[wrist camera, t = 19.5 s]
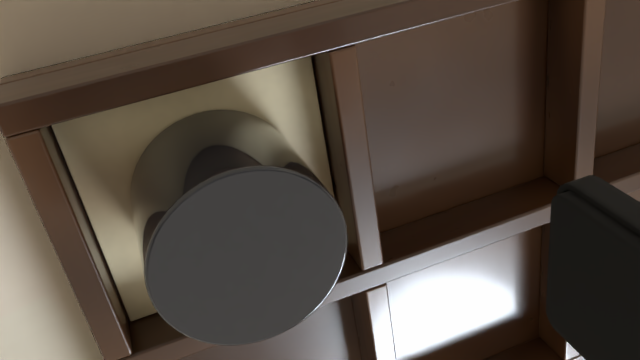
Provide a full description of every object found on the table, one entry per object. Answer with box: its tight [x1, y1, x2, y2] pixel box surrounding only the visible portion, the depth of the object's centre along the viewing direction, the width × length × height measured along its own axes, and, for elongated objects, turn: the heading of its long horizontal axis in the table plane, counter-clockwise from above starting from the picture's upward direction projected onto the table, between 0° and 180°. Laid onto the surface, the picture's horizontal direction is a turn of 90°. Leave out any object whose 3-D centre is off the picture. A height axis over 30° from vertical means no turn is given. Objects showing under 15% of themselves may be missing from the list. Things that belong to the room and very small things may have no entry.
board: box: [0, 0, 640, 360], centre depth 21 cm, size 22×22×2 cm
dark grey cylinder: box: [130, 110, 348, 345], centre depth 14 cm, size 4×4×4 cm
